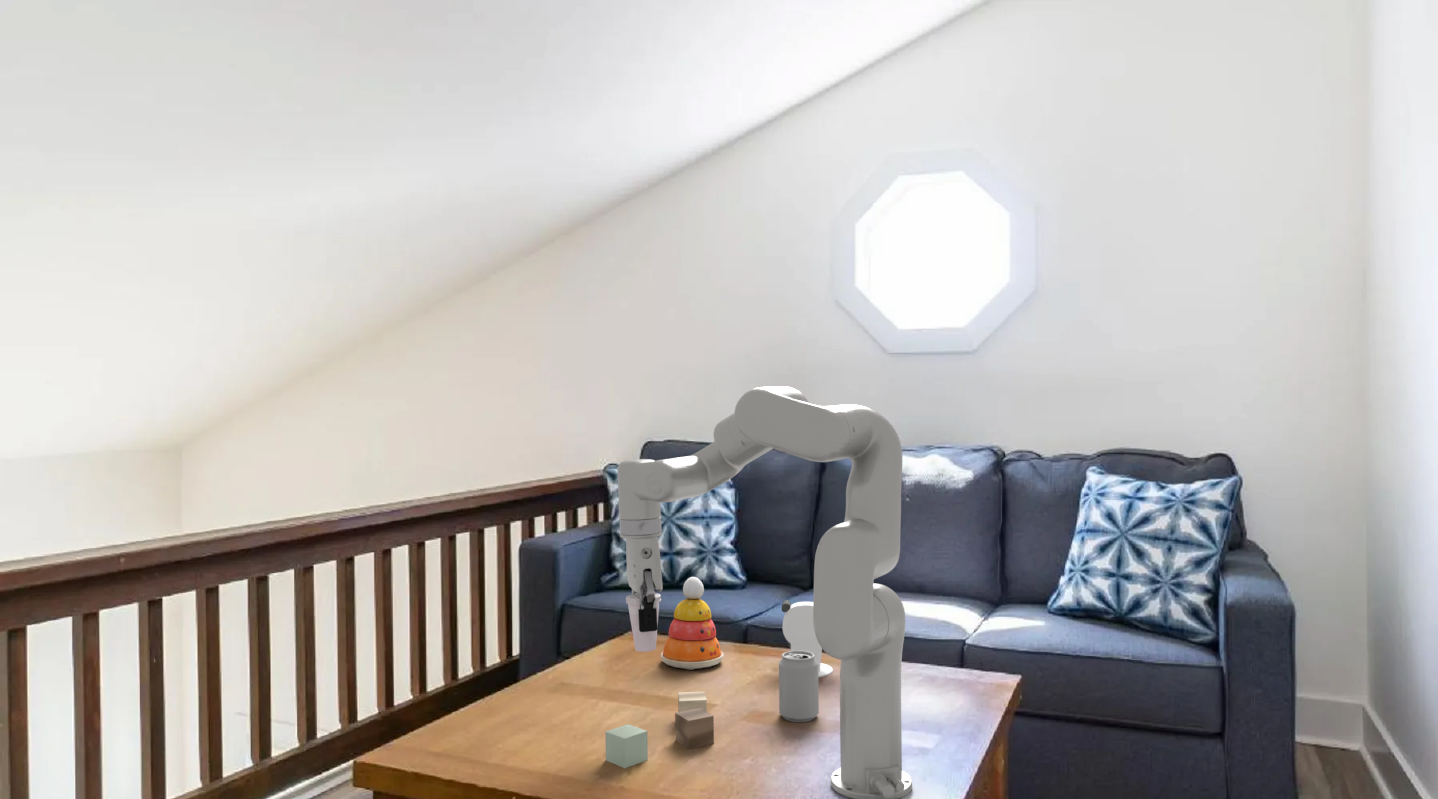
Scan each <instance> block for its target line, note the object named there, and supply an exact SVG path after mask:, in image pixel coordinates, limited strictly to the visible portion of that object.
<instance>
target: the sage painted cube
mask: <svg viewBox="0 0 1438 799" xmlns="http://www.w3.org/2000/svg"><path fill="white" fill-rule="evenodd" d="M648 749H649V748H648V730H646V729H643V728H640V727H638V726H635V725H632V724H630V723H627V724H625V725H622V726H618V727H615V728H613V729H609V730H606V731H605V761H607V762H609V763H610V764H611V763H612V764H614V765H615V766H619V767H620V768H623V769H626V768H628V767H632V766H635V765H637V764H640V763H643V762H646V761H648V758H649V757H648Z"/></svg>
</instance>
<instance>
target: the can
mask: <svg viewBox="0 0 1438 799" xmlns="http://www.w3.org/2000/svg"><path fill="white" fill-rule="evenodd" d="M814 657H815V655H814V654H813V653H811V652H808V651H791V650H789V651H785V652H783V653H782V654H781V659H780V660H779V661H778V702H779V703H778V707H779V708H778V710H779V712H778V713H779V714H780V715H781V716H782V717H783V719H784V720H787V721H789V722H795V723H803V722H804V723H805V722H809V721H810V722H811V721H812V720H814V719H815V718H816V717H817V716H818V714H819V713H820V712H819V709H820V708H819V703H820V702H819V677H818V662H817V660H816V659H815V658H814Z"/></svg>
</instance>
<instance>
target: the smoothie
mask: <svg viewBox="0 0 1438 799" xmlns="http://www.w3.org/2000/svg"><path fill="white" fill-rule="evenodd" d="M641 591H644V590H643V589H641ZM661 596H662V595H661V594H660V593H657V592H655V600H656V608H657V627H658V624H659V613H660V602H662V597H661ZM643 598H644V596H643ZM625 603H626V604H627V607H628V612H629V613H628V614H629V621H630V625H631V631H632V638H633V643H634V649H635V651H636V652H642V653H645V652H652V651H655V650H656V649H657V639H658V638H657V636H658V629H657V630H656V631H649V632H640V631H639V614H638V609H640V603H639V595H638V593H635V594H632V593H630V594H629V595H626V596H625Z"/></svg>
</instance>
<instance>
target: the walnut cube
mask: <svg viewBox="0 0 1438 799" xmlns="http://www.w3.org/2000/svg"><path fill="white" fill-rule="evenodd" d="M674 714H675V716H674V718H675V719H674V720H675V724H674V725H675V726H674V727H675V730H674V732H675V741H677V742H678V743H679V744H681V745H682V746H684V747H685V748H686V749H688V750H691V749H695V748H700V747H705V746H709V745H713V744H715V733H714V732H715V730H714V728H715V725H714V723H715V722H714V720H715V718H714V717H715V716H714V715H713V714H711V713H709V712H708V711H707V712H706V711H704V710H703V709H701V708H697V709H692V710H687V711H682V712H679V711H677V712H675V713H674Z"/></svg>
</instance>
